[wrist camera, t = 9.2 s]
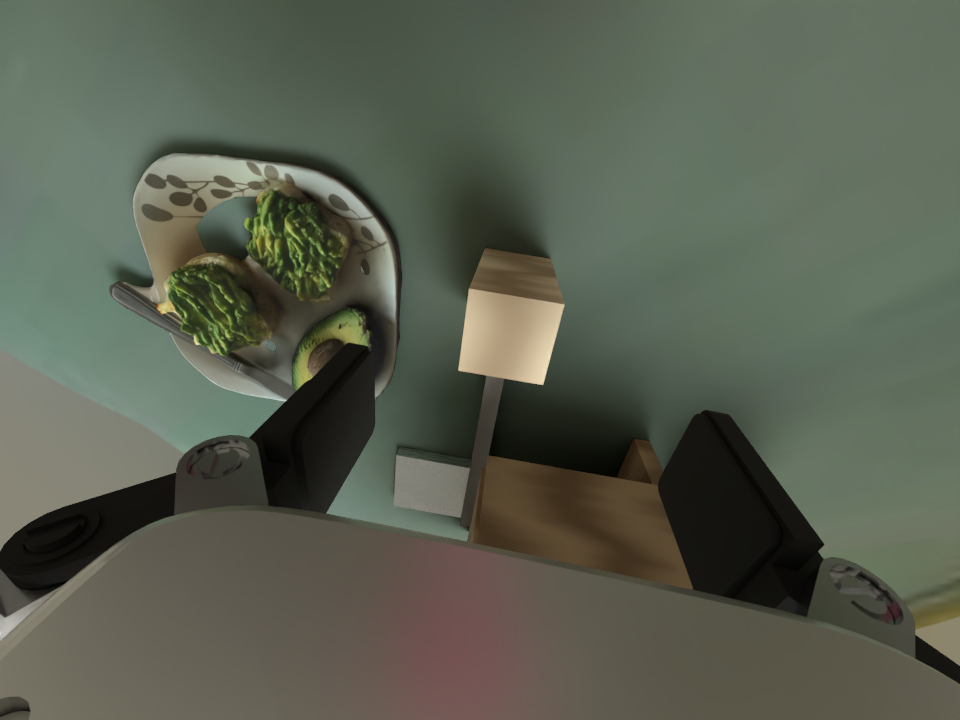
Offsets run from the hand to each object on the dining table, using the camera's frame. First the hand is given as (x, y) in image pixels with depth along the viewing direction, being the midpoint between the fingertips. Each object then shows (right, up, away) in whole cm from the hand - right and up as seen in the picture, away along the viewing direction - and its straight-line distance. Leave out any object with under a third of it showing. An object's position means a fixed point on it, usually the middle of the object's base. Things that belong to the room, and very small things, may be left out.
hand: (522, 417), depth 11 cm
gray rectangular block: (-5, -8, +22) cm, 24 cm away
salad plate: (-14, +6, +15) cm, 21 cm away
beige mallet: (-1, -2, +17) cm, 17 cm away
